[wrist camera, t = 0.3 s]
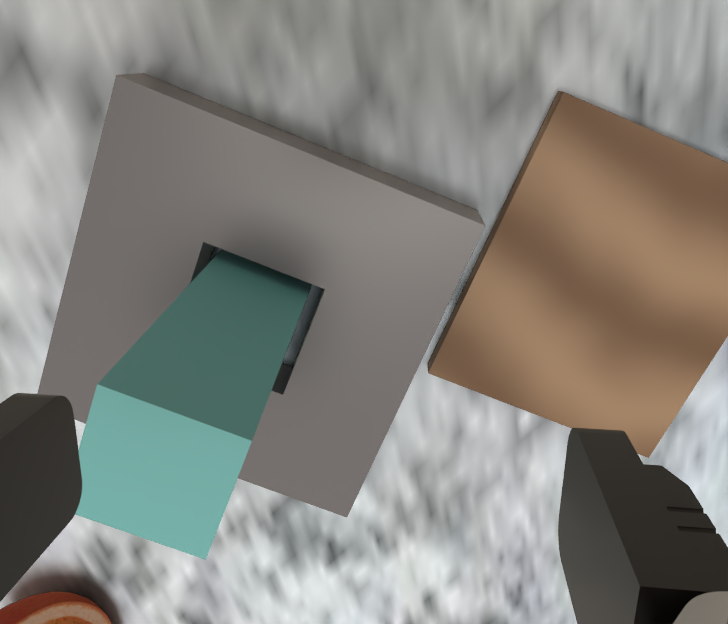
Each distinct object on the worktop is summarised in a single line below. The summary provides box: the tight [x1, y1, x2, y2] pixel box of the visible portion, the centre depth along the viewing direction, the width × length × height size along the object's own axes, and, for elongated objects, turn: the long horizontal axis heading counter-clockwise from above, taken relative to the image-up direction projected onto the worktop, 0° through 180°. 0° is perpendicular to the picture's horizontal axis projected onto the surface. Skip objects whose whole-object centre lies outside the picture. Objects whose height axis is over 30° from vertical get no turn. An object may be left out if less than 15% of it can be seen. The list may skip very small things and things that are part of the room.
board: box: [428, 91, 728, 458], centre depth 32 cm, size 14×12×1 cm
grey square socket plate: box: [38, 73, 485, 517], centre depth 32 cm, size 16×16×3 cm
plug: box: [75, 249, 312, 560], centre depth 26 cm, size 4×4×15 cm
